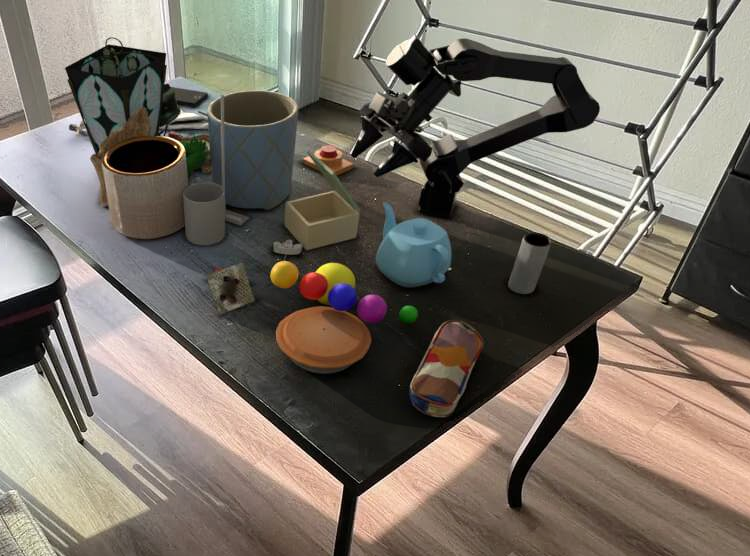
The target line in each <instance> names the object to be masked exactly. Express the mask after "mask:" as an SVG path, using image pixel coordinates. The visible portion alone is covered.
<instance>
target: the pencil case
mask: <svg viewBox="0 0 750 556" xmlns="http://www.w3.org/2000/svg"><path fill="white" fill-rule="evenodd" d="M484 345H485V342H484V339H483V337H482V336H481V334H480V333H479V332H478V331H477V329H475V328H474V327H472V326H471V325H470V324H468V323H466V322H464V321H462V320H457V319H453V320H451V319H450V320H446V321H445V322H443V323H442V324H441V325H440V326H439V327H438V329H437V330H436V331H435V332H434V335H433V338H432V340H431V342H430V343H429V346H428V348H427V350H426V351H425V353H424V356H423V357H422V360H421V362H420V364H419V365H418V368H417V370H416V371H415V374H414V375H413V378H412V380H411V381H410V385H409V398H410V400H411V404H412V405H413V407H415V409H416V410H418V411H419V412H420V413H422V414H424V415H426V416H429V417H435V418H447V417H449V416H451V415H452V414H453V413H454V412H455V411H456V408H457V406H458V404H459V401H460V399H461V397H462V396H463V394H464V392H465V390H466V388H467V385H468V381H469V378H470V375H471V374H472V371H473V368H474V367H475V364H476V361H477V360H478V358H479V356H480V354H481V352H482V350H483V349H484Z"/></svg>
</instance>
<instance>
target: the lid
mask: <svg viewBox="0 0 750 556" xmlns="http://www.w3.org/2000/svg"><path fill="white" fill-rule="evenodd" d="M306 153H307V155H308V156H310V157H311V159H312V160H313V161H314V163H315V164H316V166H317V167H318V168H319V170H320V171H321V172H320V171H319V172H320V173H321V174H322V176H323V177H324V178H325V180H326V181H327V182H328V184H329V185H330V187H331V189H332V190H333V191H336V192H337V193H338V194H339V195H340V196H341V197H342V198H343V199H344V200H345V201H346V202H347V203H348V204H349V205H351V206H352V207H353V208H354V209H355V210H356V211H357V212H358V213H359V214H360V213H361V209H360V208H359V206H358V204H357V203H356V202H355V200H354V199H353V198H352V195H350V193H349V192H348V190H347V189H346V187H345V186H344V184H343V183H342V182H341V180H340V178H339V177H338V175H337V176H336V174H335V173H334V172H333V171H332V170H331V169H330V168H329V167H327V166H326V165H325V164H324V163H323V162H322V161H321V160H320V159H319V158H317V157H316V156H315V155H314V154H315V153H313V152H312V151H311V150H310V149H309V150H308V151H306Z"/></svg>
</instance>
